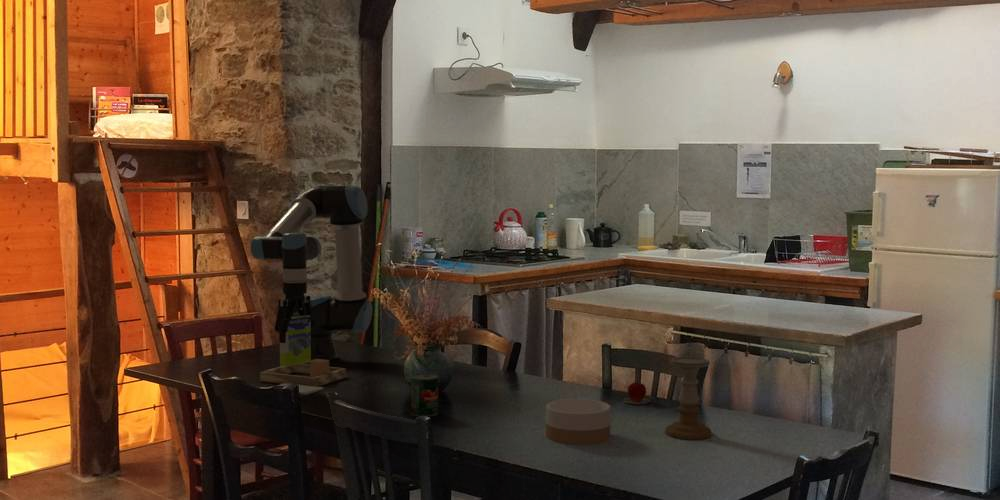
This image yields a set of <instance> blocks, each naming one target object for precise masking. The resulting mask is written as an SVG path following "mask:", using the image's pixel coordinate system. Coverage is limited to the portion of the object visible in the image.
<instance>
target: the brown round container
mask: <svg viewBox="0 0 1000 500" xmlns="http://www.w3.org/2000/svg"><path fill="white" fill-rule="evenodd" d="M611 415H612V414H611V405H610V404H609V403H607V402H604V401H600V400H598V399H597V400H596V399H591V398H590V399H589V398H565V399H556V400H553V401H549V402H548V403H547V404H546V405H545V437H546V438H547V439H548V440H550V441H552V442H556V443H559V444H565V445H574V444H579V445H581V446H582V445H585V446H586V445H595V444H596V443H597V444H601V442H602V443H605V442H607V441H609V440H610V439H611V417H612V416H611ZM608 439H609V440H608ZM604 441H605V442H604ZM579 445H578V446H579Z"/></svg>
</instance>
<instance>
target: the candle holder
mask: <svg viewBox="0 0 1000 500" xmlns="http://www.w3.org/2000/svg"><path fill="white" fill-rule="evenodd" d="M669 363H670V365H672V366H675V367H679V370H680V371H681V372H682V377H681V379H679V383H680V384H681V388H680V392H679V395H678V402H679V406H678V407H677V410H678V413H679V420H676V421H674V422H672V423H671V424H669V425H667V426H666V427H665V428H664V432H665V434H666V435H667V436H668V437H671V438H674V437H675V439H679V438H680V439H679V440H704V439H707V438H709V437H711V435H712V430H711V428H710V427H708V426H706V425H705V423H703V422H701V421H700V422H699V420H698V413H699V412H700V411H701V410H700V407H699V406H698V403H699V402H700V397H699V394H698V387H697V385H698V384H699V380H698V379H697V377H696V375H697V373H698V372H699V370H700V368H705V367H708V366H709V365H710V360H709V359H707V358H703V357H697V356H678V357H677V356H676V357H672V358H670V359H669Z"/></svg>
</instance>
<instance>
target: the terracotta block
mask: <svg viewBox="0 0 1000 500" xmlns="http://www.w3.org/2000/svg"><path fill="white" fill-rule="evenodd" d="M309 365H310V374H309V377H317V376H321V375H324V374H327V373H329V367H330V360H324V359H314V360H311V362H309Z"/></svg>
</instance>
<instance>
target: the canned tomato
mask: <svg viewBox="0 0 1000 500" xmlns="http://www.w3.org/2000/svg"><path fill="white" fill-rule="evenodd" d="M410 377H411V378H410V380H411V381H410V384H411V385H410V386H411V387H410V389H411V390H410V392H411V393H410V397H411V398H410V400H411V401H410V402H411V405H410V408H411V410H410V411H411V412H410V414H411V415H412V416H414V415H415V417H419V415H426V416H429V417H434V416H437V415H438V414H439V375H438V374H435V373H415V374H412V375H411V376H410Z"/></svg>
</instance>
